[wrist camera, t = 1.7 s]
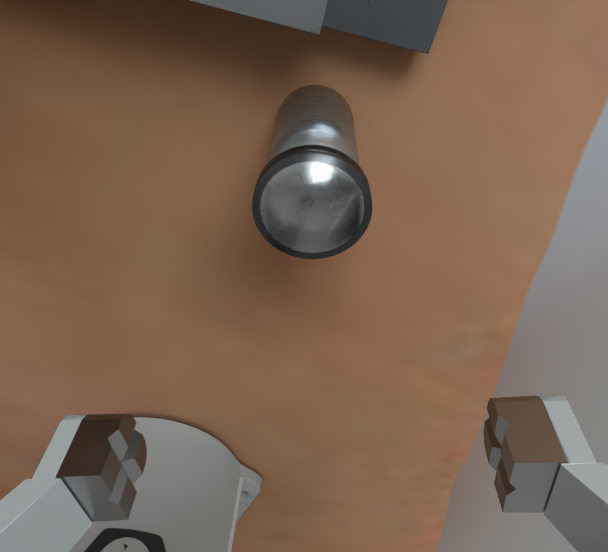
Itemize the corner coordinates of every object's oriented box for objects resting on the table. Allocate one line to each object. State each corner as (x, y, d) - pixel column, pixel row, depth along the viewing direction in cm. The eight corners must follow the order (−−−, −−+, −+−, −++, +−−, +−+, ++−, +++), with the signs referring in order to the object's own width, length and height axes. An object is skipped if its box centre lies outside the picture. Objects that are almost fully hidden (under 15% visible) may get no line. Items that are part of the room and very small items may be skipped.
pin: (344, 172, 28) (352, 268, 21) (263, 153, 28) (243, 245, 21) (370, 91, 26) (388, 169, 18) (280, 68, 25) (264, 140, 18)
